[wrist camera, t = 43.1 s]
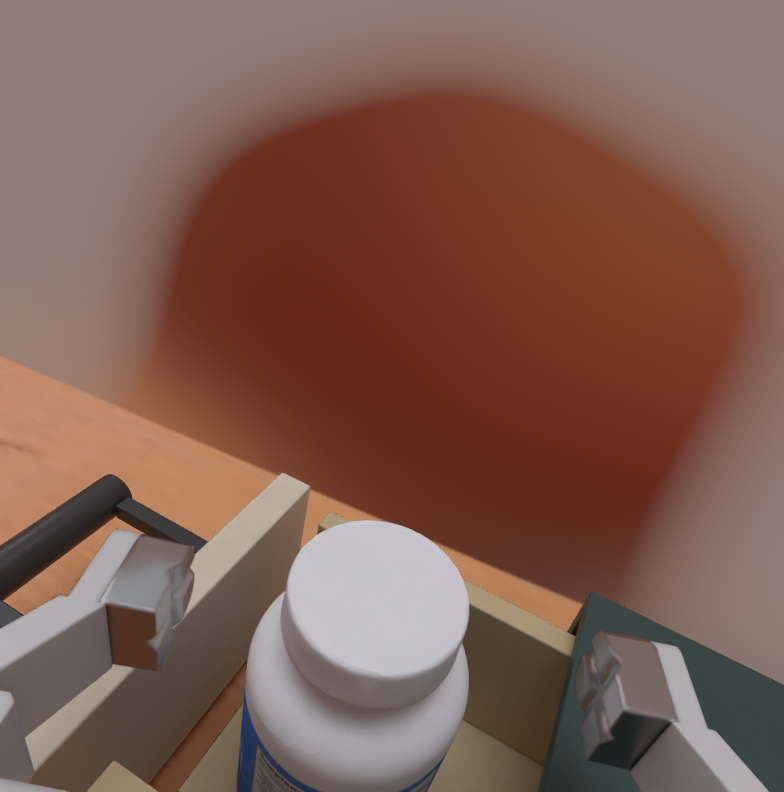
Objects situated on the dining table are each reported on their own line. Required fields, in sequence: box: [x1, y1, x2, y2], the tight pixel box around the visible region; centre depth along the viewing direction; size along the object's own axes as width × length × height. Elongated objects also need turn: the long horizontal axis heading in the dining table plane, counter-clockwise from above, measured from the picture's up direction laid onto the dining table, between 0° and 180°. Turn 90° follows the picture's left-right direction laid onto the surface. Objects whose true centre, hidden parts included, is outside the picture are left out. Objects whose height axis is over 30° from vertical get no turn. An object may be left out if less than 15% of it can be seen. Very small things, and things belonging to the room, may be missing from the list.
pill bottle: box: [237, 520, 469, 792], centre depth 16 cm, size 6×5×10 cm
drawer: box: [0, 473, 576, 792], centre depth 18 cm, size 19×11×7 cm, turn 64°
